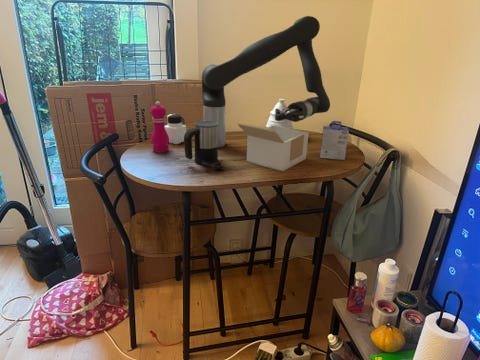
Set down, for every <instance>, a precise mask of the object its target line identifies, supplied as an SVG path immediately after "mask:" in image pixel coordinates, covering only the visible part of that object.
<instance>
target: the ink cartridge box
mask: <svg viewBox="0 0 480 360" xmlns="http://www.w3.org/2000/svg"><path fill="white" fill-rule="evenodd" d="M349 131H350V129H349V127H344V126H342V121H338V120H332V121H331V126H327V125H324V126H323V128H322V137H321V145H320V146H321V147H320V153H319V158H321V159H331V160H339V161H340V160H342V161H343V160H344V161H345V160H346V154H347V146H348V140H349V134H350V133H349Z"/></svg>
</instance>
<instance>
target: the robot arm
mask: <svg viewBox="0 0 480 360" xmlns="http://www.w3.org/2000/svg"><path fill="white" fill-rule="evenodd" d="M320 28H321V26H320V22H319V20H318V19H317V17H314V16H310V15H307V16H303V17H301V18H299V19H297V20H295V21H294V23H293V24H292V25H291V26H289V27H288V28H286V29H284V30H282V31H279V32H277V33H273V34H271V35H268V36H266V37H263V38H261V39H259V40H257V41H255V42H253V43H251V44H249V45H248V46H247V47H245V48H244V49H243V50H241V52H239V53H238V54H237V55H236V56H234V57H233V58H230V60H227V61H225V62H222V63H220V64H209V65H207V66H206V67H204V68H203V70H202V74H201V90H202V91H201V95H202V102H203V103H202V104H203V121H215V122H218V123H219V125H218V148H223V147H224V146H226V96H225V87H226V86H227V85H229V84H230V83H231V82H233V81H234V80H236V79H237V78H239V77H241V76H242V75H245V74H248V73H250V72H252V71H255V70H256V69H258V68H260V67H262V66H264V65H266V64H268V63H269V62H271V61H273V60H274V59H277V58H278V57H279V56H281V55H283V54H285V53H286V52H287V51H289V50H290V49H292V48H293V47H297V50H298V54H299V55H298V56H299V58H300V62H301V66H302V67H301V68H302V72H303V77H304V83H305V87H306V91H307V92H308V93H312V94H316V96H315V97H309V98H306V99H304V100H298V101H296V102H295V101H294V102H292V103H290V104H289V105H287V108H286V109H283V110H282V111H280V110H279V109H275V120H276V121H281V120H289V121H291V122H292V123H297V122H300V121H304V120H305V119H307V118H310V117H312V116H313V115H315V114H321V113H327V112H328V111H329V110H330V107H331V102H330V98H329V96H328V94H327V92H326V89H325V87H324V83H323V79H322V78H323V76H322V72H321V68H320V66H319V62H318V60H317V57H316V56H315V52H314V49H313V39H315V38H316V37H317V36H318V34H319V32H320Z"/></svg>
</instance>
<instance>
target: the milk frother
mask: <svg viewBox="0 0 480 360" xmlns="http://www.w3.org/2000/svg"><path fill="white" fill-rule="evenodd" d="M193 124H194V128H189V129H186V133H185V135H184V142H183V143H184V154H185V155H184V156H185V158H186V159H188V160H192V159H193V158H194V163H196V164H199V165H204V166H207V167H211V168H213V169H215V170H218V171H220V170H221V169H224V168H225V167H224V165H223V164H222V163H221V162H219V157H218V156H219V151H218V150H219V149H218V148H219V147H218V125H219V123H218V122H215V121H204V120H198V121H195V122H193ZM193 137H194V157H193V142H192V140H193Z"/></svg>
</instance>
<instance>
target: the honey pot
mask: <svg viewBox="0 0 480 360" xmlns="http://www.w3.org/2000/svg"><path fill="white" fill-rule="evenodd" d="M285 101H286V99H283V98H279V99H278V102H277V103H276V104H275V106H274V107H273V109H272V110H271V111H269V113H270V116H269V118H268V120H267V123H266V125H265V127H269V126H272V125H277V126H282V127H287V128H292V129H294V125H293V121H289V120H281V121H276V120H275V109H279V110H280V111H282V110H283V109H286V108H287V107H288V105H286V104H285Z"/></svg>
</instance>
